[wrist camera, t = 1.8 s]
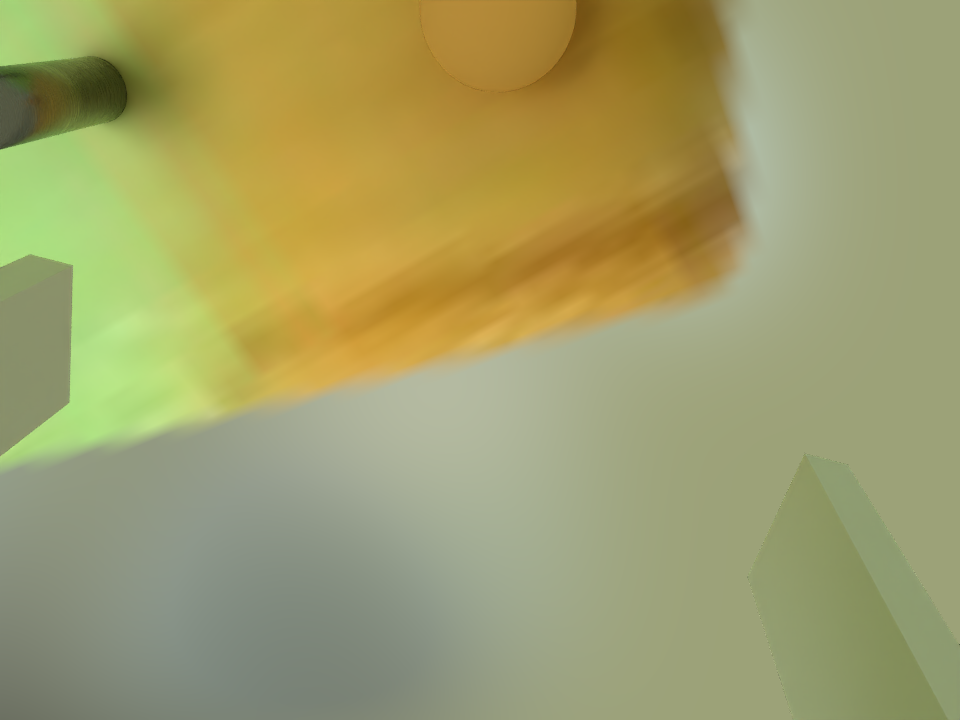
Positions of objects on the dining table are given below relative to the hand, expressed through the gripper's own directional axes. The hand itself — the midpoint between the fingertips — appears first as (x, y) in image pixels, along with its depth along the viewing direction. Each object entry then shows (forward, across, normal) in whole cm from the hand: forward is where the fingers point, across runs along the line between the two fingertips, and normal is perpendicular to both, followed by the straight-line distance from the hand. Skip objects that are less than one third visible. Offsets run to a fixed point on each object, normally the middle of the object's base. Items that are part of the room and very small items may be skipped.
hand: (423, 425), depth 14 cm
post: (+21, -18, 0) cm, 27 cm away
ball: (+18, -2, +7) cm, 20 cm away
